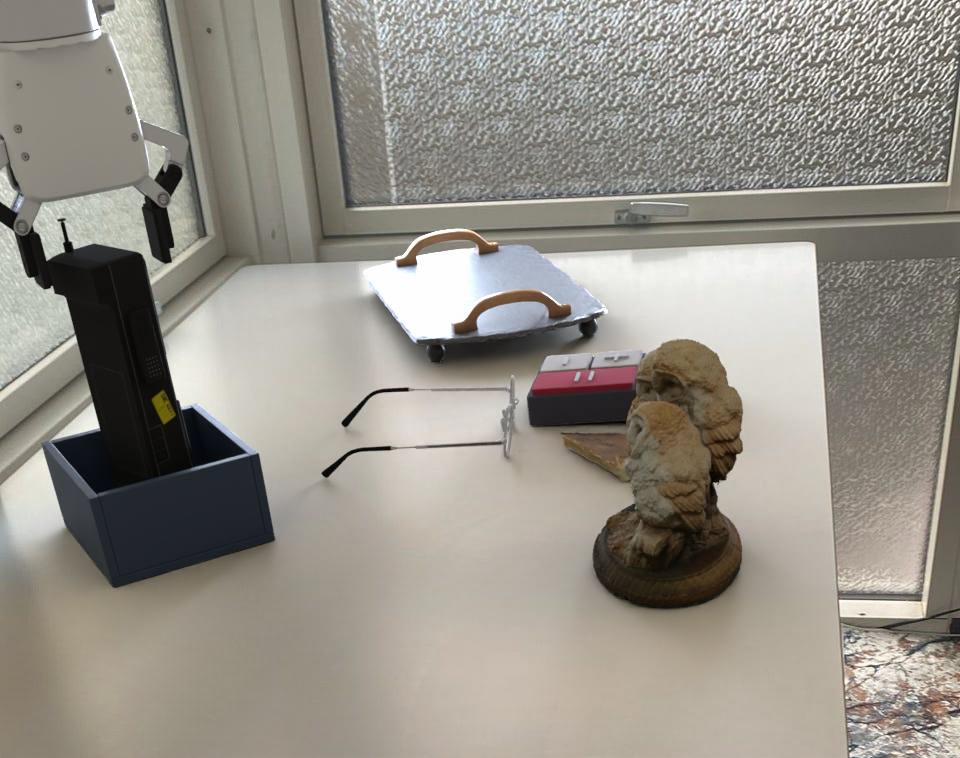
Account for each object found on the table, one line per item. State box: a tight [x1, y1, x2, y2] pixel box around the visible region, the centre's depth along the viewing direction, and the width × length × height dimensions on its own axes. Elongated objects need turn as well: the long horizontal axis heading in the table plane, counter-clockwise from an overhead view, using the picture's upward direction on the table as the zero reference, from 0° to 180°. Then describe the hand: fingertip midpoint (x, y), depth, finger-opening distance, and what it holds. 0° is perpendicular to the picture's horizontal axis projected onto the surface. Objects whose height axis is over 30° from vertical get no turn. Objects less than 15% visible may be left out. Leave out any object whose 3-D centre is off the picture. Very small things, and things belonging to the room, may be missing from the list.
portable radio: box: [46, 217, 196, 490], centre depth 111 cm, size 8×6×25 cm
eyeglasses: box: [320, 374, 520, 479], centre depth 128 cm, size 16×19×5 cm
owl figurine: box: [592, 338, 744, 609], centre depth 102 cm, size 18×12×17 cm, turn 176°
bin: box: [40, 403, 276, 588], centre depth 116 cm, size 15×16×8 cm
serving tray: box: [362, 228, 608, 363], centre depth 161 cm, size 39×23×6 cm, turn 15°
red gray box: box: [526, 348, 654, 427], centre depth 133 cm, size 11×4×15 cm
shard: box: [559, 431, 631, 483], centre depth 124 cm, size 11×8×2 cm
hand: (104, 272), depth 105 cm, fingers open, 9 cm apart
